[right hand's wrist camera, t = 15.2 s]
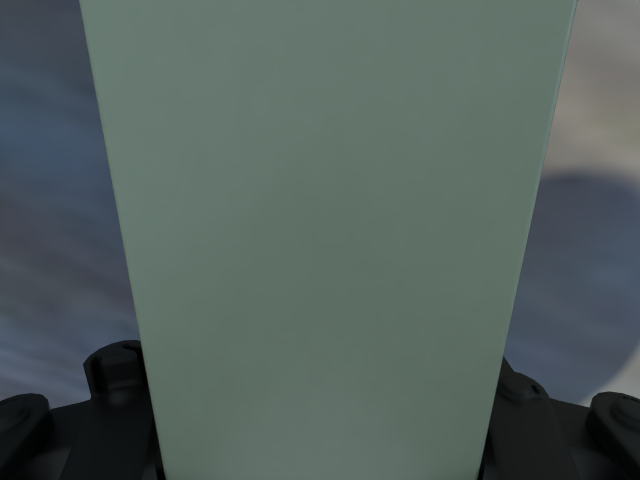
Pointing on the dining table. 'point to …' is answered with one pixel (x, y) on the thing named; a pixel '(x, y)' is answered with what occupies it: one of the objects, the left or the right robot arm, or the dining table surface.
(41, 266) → the dining table surface
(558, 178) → the dining table surface
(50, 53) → the dining table surface
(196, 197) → the sage box
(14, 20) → the dining table surface
